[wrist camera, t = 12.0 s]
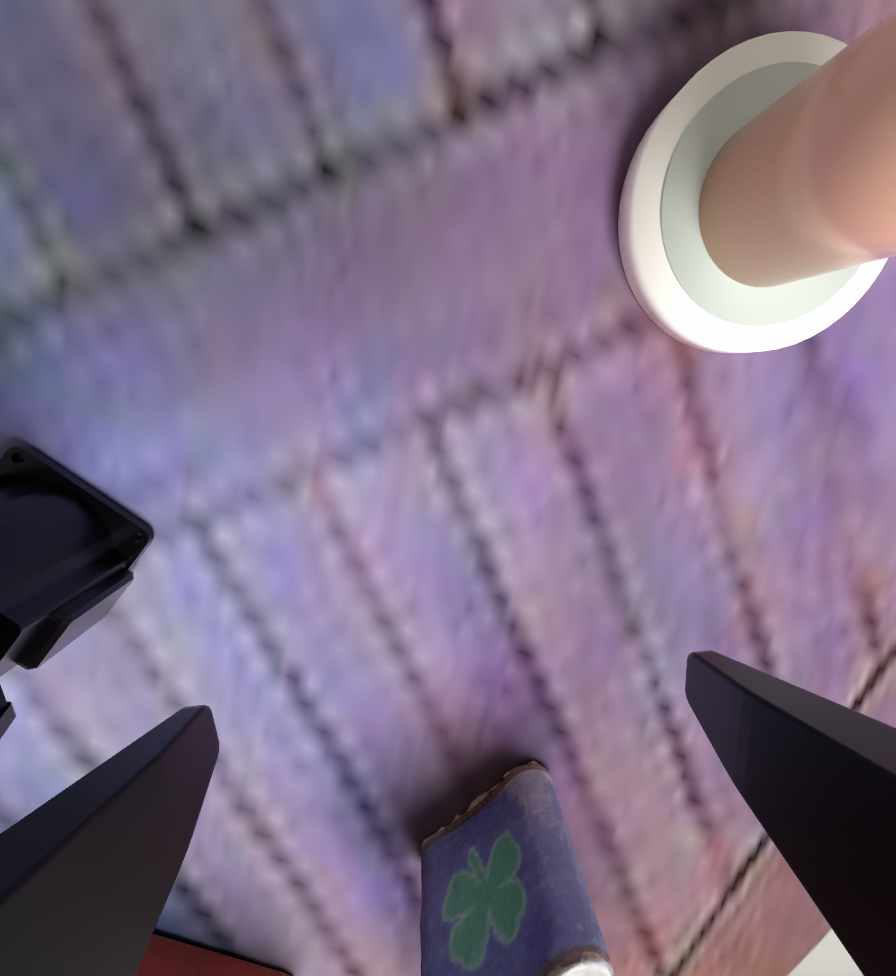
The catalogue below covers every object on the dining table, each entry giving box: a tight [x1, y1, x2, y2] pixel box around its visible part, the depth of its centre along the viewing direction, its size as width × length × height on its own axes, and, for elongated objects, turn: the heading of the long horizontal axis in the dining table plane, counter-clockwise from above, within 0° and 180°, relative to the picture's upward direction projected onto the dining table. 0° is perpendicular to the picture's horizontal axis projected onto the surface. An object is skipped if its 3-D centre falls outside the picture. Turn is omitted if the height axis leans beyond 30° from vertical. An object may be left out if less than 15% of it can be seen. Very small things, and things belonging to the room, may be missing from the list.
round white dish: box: [618, 31, 888, 353], centre depth 18 cm, size 11×11×2 cm
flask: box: [420, 761, 614, 976], centre depth 20 cm, size 9×3×11 cm, turn 133°
